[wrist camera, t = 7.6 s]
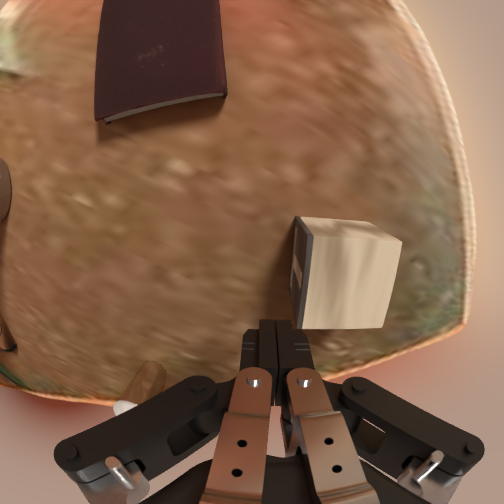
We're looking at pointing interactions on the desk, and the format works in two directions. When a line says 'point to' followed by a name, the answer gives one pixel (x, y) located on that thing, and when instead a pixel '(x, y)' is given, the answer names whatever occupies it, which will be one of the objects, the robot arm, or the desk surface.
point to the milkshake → (141, 387)
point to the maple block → (341, 273)
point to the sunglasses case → (6, 337)
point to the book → (157, 55)
